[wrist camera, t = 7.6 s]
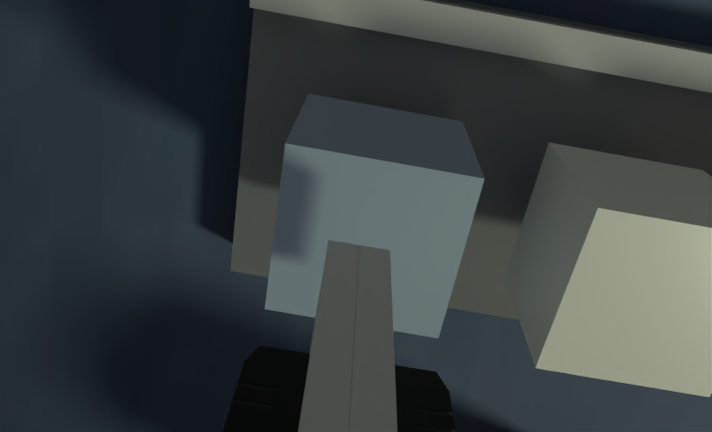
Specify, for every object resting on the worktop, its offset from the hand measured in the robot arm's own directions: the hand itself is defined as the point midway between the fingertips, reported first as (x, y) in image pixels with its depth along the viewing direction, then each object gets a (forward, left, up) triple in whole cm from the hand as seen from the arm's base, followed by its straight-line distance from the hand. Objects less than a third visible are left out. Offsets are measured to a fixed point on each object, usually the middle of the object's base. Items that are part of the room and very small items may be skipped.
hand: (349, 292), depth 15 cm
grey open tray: (+8, 0, -11) cm, 14 cm away
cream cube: (+8, 0, -6) cm, 10 cm away
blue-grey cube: (0, 0, -7) cm, 7 cm away
